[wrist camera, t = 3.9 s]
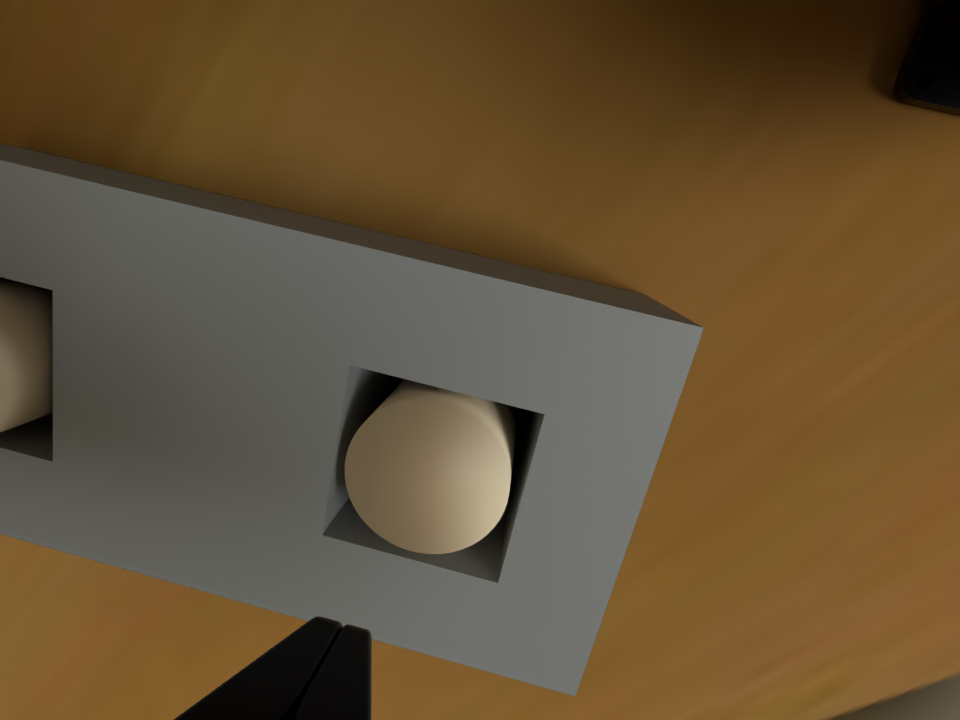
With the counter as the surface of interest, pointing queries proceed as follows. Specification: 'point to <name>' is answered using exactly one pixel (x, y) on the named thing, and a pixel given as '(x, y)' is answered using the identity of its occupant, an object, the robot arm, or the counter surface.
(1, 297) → the birch peg
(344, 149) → the counter surface
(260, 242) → the grey peg board
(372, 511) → the birch peg
